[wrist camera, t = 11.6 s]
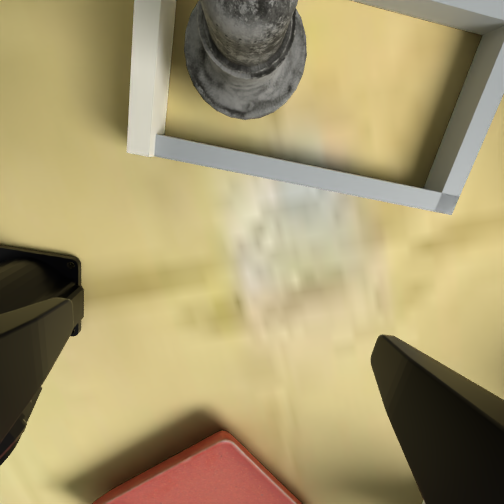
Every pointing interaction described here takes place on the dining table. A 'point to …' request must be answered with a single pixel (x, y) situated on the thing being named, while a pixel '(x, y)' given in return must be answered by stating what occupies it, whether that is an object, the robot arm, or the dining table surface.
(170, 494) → the plant saucer
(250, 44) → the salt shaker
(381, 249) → the dining table surface
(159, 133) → the frame
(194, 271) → the dining table surface
